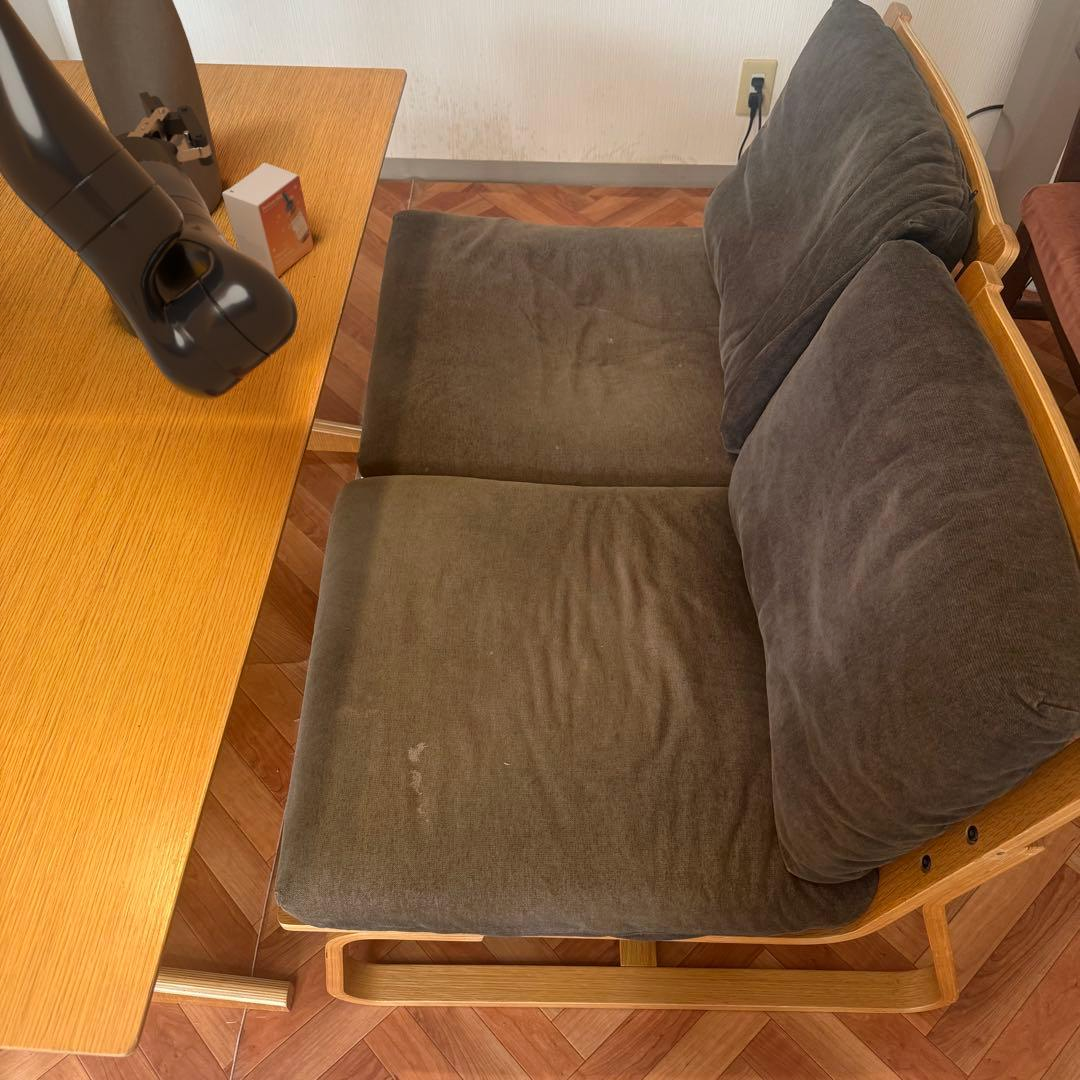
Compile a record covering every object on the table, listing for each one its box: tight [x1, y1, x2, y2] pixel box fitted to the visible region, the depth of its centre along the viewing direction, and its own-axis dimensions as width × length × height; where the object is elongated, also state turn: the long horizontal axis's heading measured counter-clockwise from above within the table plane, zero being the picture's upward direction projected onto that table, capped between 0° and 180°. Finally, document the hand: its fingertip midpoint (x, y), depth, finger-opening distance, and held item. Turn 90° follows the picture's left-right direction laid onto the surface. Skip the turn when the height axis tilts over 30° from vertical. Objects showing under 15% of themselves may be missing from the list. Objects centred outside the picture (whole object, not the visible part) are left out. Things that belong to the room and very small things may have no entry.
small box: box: [221, 162, 314, 278], centre depth 111 cm, size 8×6×10 cm
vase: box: [66, 0, 223, 215], centre depth 109 cm, size 12×12×30 cm
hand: (97, 114), depth 79 cm, fingers open, 8 cm apart
